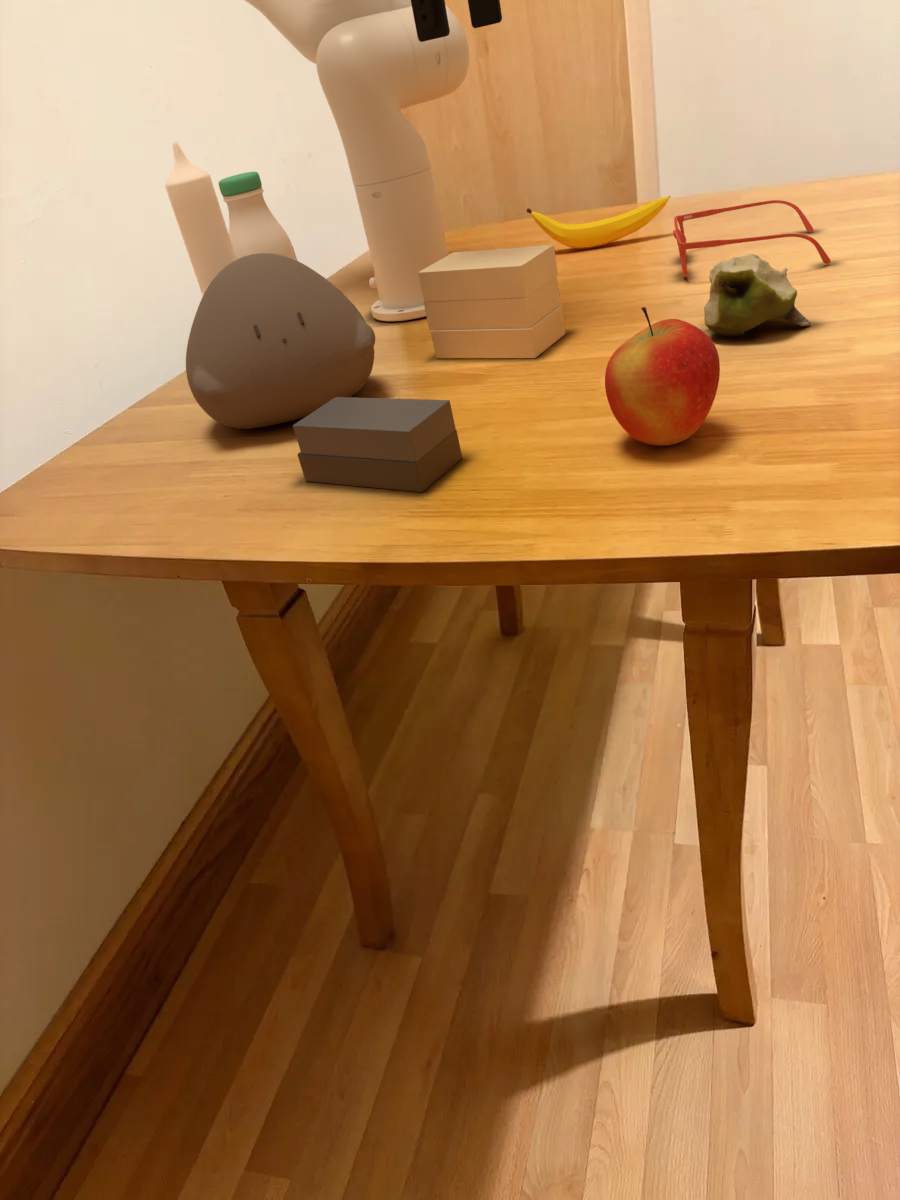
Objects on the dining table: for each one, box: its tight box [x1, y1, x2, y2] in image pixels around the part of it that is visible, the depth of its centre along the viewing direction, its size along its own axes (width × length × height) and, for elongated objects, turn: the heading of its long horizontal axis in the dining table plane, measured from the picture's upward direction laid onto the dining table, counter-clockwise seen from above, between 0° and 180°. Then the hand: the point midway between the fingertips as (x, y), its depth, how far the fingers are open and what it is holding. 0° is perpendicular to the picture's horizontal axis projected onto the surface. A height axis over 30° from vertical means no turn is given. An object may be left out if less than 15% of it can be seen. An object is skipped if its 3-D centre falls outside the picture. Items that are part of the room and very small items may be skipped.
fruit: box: [703, 253, 812, 338], centre depth 82 cm, size 9×9×8 cm
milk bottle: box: [218, 171, 298, 261], centre depth 104 cm, size 8×8×20 cm
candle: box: [164, 141, 237, 296], centre depth 93 cm, size 7×7×25 cm
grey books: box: [292, 396, 463, 493], centre depth 72 cm, size 12×6×5 cm, turn 58°
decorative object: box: [185, 253, 376, 430], centre depth 87 cm, size 18×18×15 cm
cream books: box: [424, 275, 566, 359], centre depth 93 cm, size 12×7×6 cm, turn 58°
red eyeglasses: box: [672, 199, 832, 278], centre depth 102 cm, size 17×16×5 cm
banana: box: [526, 195, 671, 250], centre depth 121 cm, size 3×19×6 cm, turn 76°
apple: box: [604, 306, 721, 447], centre depth 65 cm, size 8×8×10 cm
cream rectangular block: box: [418, 244, 559, 302], centre depth 91 cm, size 12×7×3 cm, turn 58°
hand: (461, 31), depth 85 cm, fingers open, 9 cm apart
